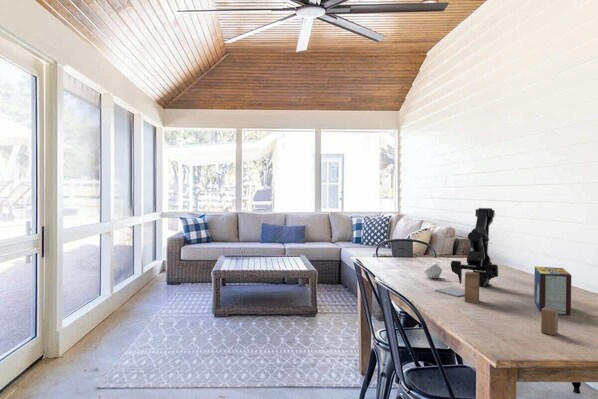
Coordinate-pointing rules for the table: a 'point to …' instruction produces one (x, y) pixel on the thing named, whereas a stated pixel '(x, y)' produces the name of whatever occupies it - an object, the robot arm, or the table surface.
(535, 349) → the table surface
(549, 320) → the wooden block
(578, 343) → the table surface
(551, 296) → the protein box
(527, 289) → the table surface
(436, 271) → the die
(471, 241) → the robot arm
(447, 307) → the table surface
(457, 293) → the coaster
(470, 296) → the walnut block
